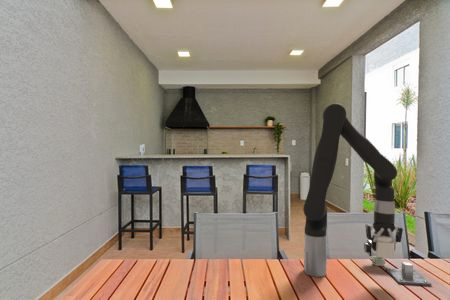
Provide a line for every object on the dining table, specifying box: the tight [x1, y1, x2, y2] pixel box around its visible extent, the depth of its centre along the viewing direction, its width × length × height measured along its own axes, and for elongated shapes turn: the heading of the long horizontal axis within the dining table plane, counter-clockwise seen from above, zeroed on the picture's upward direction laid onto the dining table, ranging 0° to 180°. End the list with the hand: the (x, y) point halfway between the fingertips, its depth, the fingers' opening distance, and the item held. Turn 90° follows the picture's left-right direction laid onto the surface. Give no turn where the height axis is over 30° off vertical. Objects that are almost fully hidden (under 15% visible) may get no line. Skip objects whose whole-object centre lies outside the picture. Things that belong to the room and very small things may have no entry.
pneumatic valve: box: [363, 239, 386, 267], centre depth 133 cm, size 6×12×12 cm, turn 78°
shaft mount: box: [385, 261, 432, 287], centre depth 119 cm, size 12×13×6 cm
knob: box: [372, 235, 396, 259], centre depth 116 cm, size 6×6×8 cm
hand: (383, 250), depth 116 cm, fingers closed on knob, 6 cm apart
